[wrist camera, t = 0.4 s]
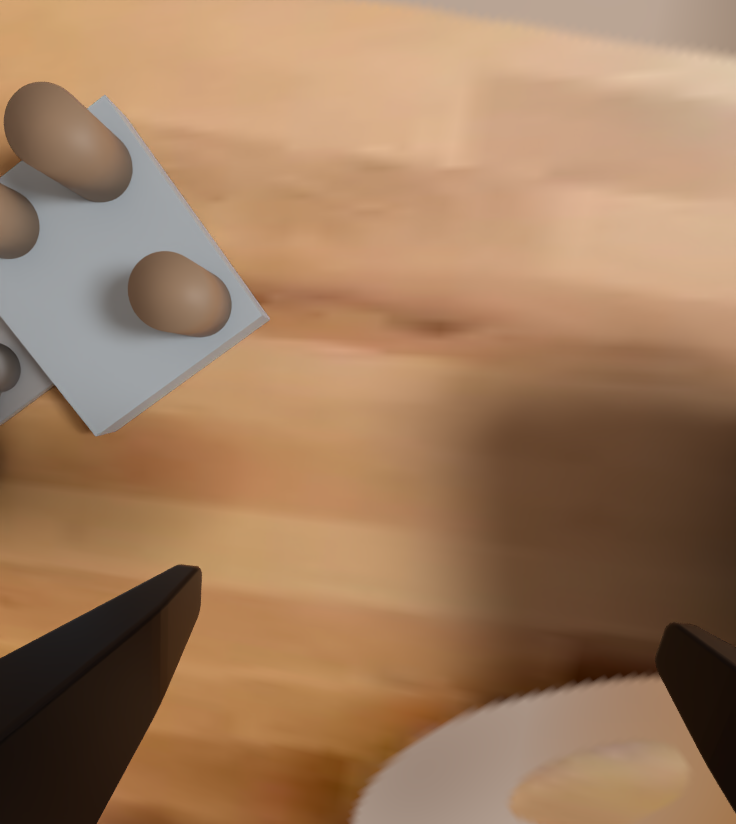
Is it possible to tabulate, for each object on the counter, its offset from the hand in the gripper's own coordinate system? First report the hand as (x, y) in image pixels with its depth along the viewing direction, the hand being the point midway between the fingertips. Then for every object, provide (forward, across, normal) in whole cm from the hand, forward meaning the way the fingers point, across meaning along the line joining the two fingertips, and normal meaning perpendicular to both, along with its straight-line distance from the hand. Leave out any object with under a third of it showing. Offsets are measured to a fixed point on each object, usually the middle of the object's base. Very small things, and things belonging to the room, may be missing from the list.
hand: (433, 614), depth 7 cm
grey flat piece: (+15, +18, -4) cm, 24 cm away
